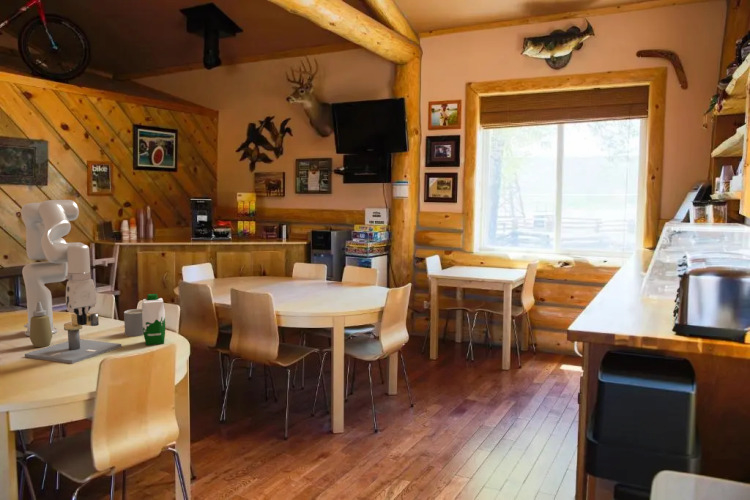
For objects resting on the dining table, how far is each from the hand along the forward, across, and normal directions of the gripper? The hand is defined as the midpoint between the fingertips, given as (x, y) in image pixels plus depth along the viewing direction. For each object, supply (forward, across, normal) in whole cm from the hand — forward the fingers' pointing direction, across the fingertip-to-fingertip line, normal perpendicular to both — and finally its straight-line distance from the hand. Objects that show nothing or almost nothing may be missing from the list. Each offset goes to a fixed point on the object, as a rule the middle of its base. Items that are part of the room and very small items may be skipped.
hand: (82, 324), depth 222 cm
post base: (+12, +2, +9) cm, 15 cm away
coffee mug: (+13, +35, +11) cm, 39 cm away
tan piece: (+3, +3, +5) cm, 6 cm away
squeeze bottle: (+13, 0, +29) cm, 31 cm away
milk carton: (+13, +27, -8) cm, 31 cm away
